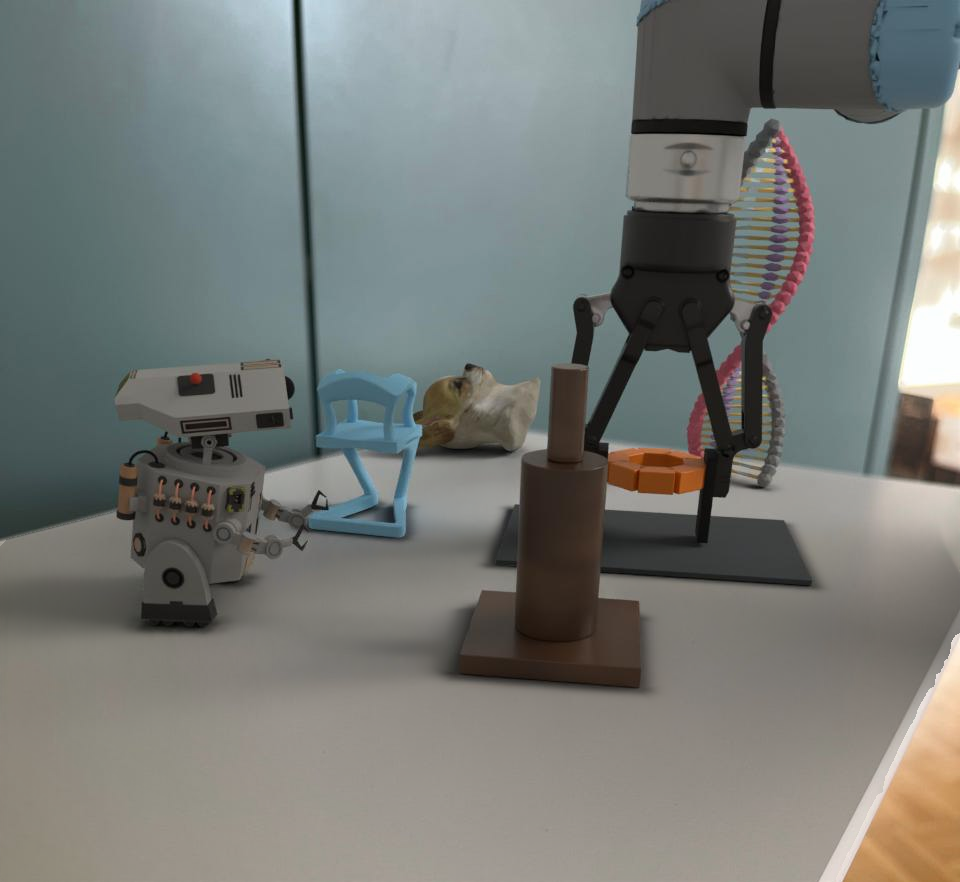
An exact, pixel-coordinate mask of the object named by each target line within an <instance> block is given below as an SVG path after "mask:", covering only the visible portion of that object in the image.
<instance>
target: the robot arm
mask: <svg viewBox="0 0 960 882" xmlns="http://www.w3.org/2000/svg"><path fill="white" fill-rule="evenodd" d="M635 25H636V27H637V31H636V32H637V34H636V50H635V51H636V53H635V55H636V56H635V67H634V85H633V99H632V100H633V101H632V118H631V129H630V134H629V141H628V154H627V155H628V156H627V157H628V158H627V167H626V168H627V169H626V184H625V197H626V198H627V200H628V201H631V202H632V201H633V205H631V209H628V210H626V214H623V217H622V218H623V219H622V230H621V231H622V233H621V244H620V245H621V246H620V256H619V257H620V258H619V259H620V260H619V272H618V276H617V279H616V281H615V283H614V285H613V286H612V288H611V290H610V291H608V292H604V293H603V292H602V293H597V294H592V295H588V294H585V293H581V294H579V295H577V296H576V297H575V300H574V302H573V304H572V310H573V311H572V312H573V316H574V317H573V318H574V324H575V330H576V335H575V340H574V345H573V351H572V357H571V362H570V363H571V364H581V365H585V366H588V367H589V363H590V357H591V352H592V347H593V343H594V336H595V328H598V327H599V326H600V327H601V326H602V324H603V323H604V321H605V315H606V313H607V312H608V311H609V310H610V309H612V308H613V310H614V312H615V314H616V315H617V317H618V319H619V320H620V322H621V323H622V325H623V326H624V329H625V330H626V331H627V333H628V335H627V337H626V339H625V342H624V343H623V346H622V348H621V351H620V353H619V355H618V357H617V359H616V361H615V364H614V366H613V368H612V370H611V372H610V374H609V377H608V379H607V381H606V383H605V385H604V388H603V390H602V392H601V394H600V396H599V398H598V401H597V403H596V405H595V407H594V409H593V411H592V413H591V415H590V418H589V419H588V422H587V423H585V438H584V451H588V452H592V453H596V454H599V455H601V456H603V457H605V458H606V459H607V460H608V453H609V449H610V447H609V446H610V442H602V438H603V436H604V433H605V432H606V429H607V428H608V425H609V423H610V420H611V419H612V417H613V415H614V413H615V411H616V409H617V406H618V404H619V402H620V400H621V398H622V396H623V393H624V391H625V389H626V387H627V385H628V384H629V381H630V378H631V377H632V374H633V372H634V370H635V368H636V366H637V364H638V363H639V361H640V359H641V358H642V355H643V352H644V351H645V352H659V351H665V350H670V351H672V352H676V353H683V354H690V353H691V356H692V360H693V363H694V367H695V372H696V374H697V378H698V381H699V385H700V386H699V387H700V389H701V393H703V397H704V401H705V405H706V408H707V411H706V412H708V420H710V423H709V424H710V428H712V431H713V432H712V431H711V432H712V435H714V439H715V440H714V441H715V442H716V447H715V449H713V447H712V448H709V447H705V448H704V449H705V450H704V462H705V465H706V471H705V480H704V488H702V489H701V490H699V495H698V501H697V502H698V504H697V512H696V515H697V519H696V528H695V534H696V539H697V543H708V535H709V527H710V518H711V516H712V509H713V500H714V498H722V499H725V498H726V497H727V496H728V494H729V492H730V486H731V485H730V484H731V478H732V473H731V471H732V469H733V465H732V463H733V461H734V458H735V457H734V456H735V455H736V454H739V452H742V451H743V450H745V449H749V448H751V449H755V448H759V447H760V446H761V445H762V443H761V442H762V440H763V434H762V431H763V425H762V422H763V416H762V413H763V407H762V404H763V398H762V395H763V389H762V386H763V384H764V383H763V346H764V339H765V336H766V331H767V328H768V325H769V323H770V320H771V317H772V310H771V308H770V307H769V306H768V305H767V304H766V303H764V302H762V301H761V300H757V301H758V302H755V303H754V302H751V301H747V300H748V299H747V300H744V299H745V298H743V299H740V298H741V297H737V296H736V297H735V295H734V292H733V290H732V287H733V286H732V287H731V285H732V283H730V280H731V275H730V272H732V271H731V270H732V266H731V264H732V263H733V256H732V255H733V254H734V248H733V247H734V245H735V236H736V231H737V230H736V227H737V221H738V220H737V219H734V217H735V214H734V213H731V212H730V213H729V212H728V209H729V204H732V205H734V204H736V203H737V202H739V201H738V200H739V197H740V194H741V193H740V192H741V191H740V187H741V186H740V185H741V176H742V167H743V158H744V152H745V148H746V140H747V139H746V137H747V136H748V126H749V125H748V123H749V118H750V117H749V116H750V113H751V110H752V109H753V108H754V109H755V108H756V109H759V108H760V109H762V108H763V109H765V110H769V109H770V110H775V109H800V110H801V109H802V110H803V109H804V110H833V111H834V112H835V114H837V116H838V117H840V118H844V119H845V120H846V121H849V122H852V123H856V124H865V125H877V124H883V123H886V122H888V121H891V120H893V119H894V118H896V117H898V116H900V115H901V114H903V113H904V112H907V111H908V110H921V109H922V110H923V109H924V110H925V109H935V108H940V107H943V105H945V104H946V103H948V101H949V100H950V99H951V98H952V96H953V94H954V92H955V89H956V82H957V78H958V74H959V73H958V72H959V70H960V0H640V7H639V13H638V15H637V17H636V24H635ZM729 313H733V314H734V315H735V318H736V321H735V322H734V326H735V325H736V326H735V328H736V329H737V331H738V332H739V331H740V332H741V333H743V334H742V338H741V340H742V342H741V341H740V343H741V369H740V371H741V375H740V379H741V383H740V384H741V386H740V387H741V391H740V392H741V395H740V396H741V399H740V400H741V402H740V403H741V404H740V405H741V409H740V412H741V416H740V421H741V424H740V428H738V429H739V430H736V431H732V432H731V429H732V428H731V426H730V425H731V424H729V421H730V420H729V417H727V413H726V411H727V410H726V409H725V405H724V403H725V402H723V398H722V396H723V393H721V390H720V386H719V382H718V378H717V375H716V368H715V364H714V359H713V355H712V350H711V347H710V343H709V340H708V339H709V338H710V337H711V335H712V334H713V333H714V332H715V331H716V329H718V327H719V326H720V325H721V324H722V322H723V321H724V320H725V319H726V318H727V317H728V316H729V315H730V314H729ZM740 332H739V333H740ZM728 420H729V421H728Z"/></svg>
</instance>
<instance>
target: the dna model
mask: <svg viewBox="0 0 960 882" xmlns="http://www.w3.org/2000/svg"><path fill="white" fill-rule="evenodd" d="M789 142H790V141H789V138H788V136H787V135H786V134H784V127H783V126H782V122H780V119H777V118H770V119H769V120H767V121H766V122H764V124H763V128H762V130H760V132H758V133H757V134H756V136H755V139H754V140H753V141H751V142H750V143H749V145H748V148H747V149H746V150H744V158H743V167H742V176H741V185H740V192H743V193H769V194H770V193H771V194H772V193H773V194H776V195H778V196H775V197H770V198H769V197H751V196H750V197H749V196H748V197H747V196H739V200H738V201H737V202H747V203H748V202H750V203H751V202H752V203H773V204H775V205H777V206H762V207H761V206H759V207H757V206H756V207H754V206H753V207H751V206H749V207H748V206H747V207H745V206H744V207H743V206H742V207H741V206H733V204H729V209H728V213H729V212H730V211H733V212H734V211H736V212H737V211H739V212H740V211H741V212H742V211H744V212H745V211H746V212H773V213H774V214H775V215H774V216H764V217H763V216H762V217H761V216H760V217H758V216H757V217H755V216H753V217H749V216H748V217H746V216H745V217H741V216H740V217H737V216H734V219H737V221H739V222H740V221H741V222H742V221H743V222H745V221H746V222H767V223H768V222H770V223H771V222H772V223H774V224H776V225H773V226H755V225H751V224H750V225H741V226H740V225H739V226H736V230H735V231H748V230H749V231H750V230H751V231H762V232H771V233H775V234H773V235H771V236H760V235H759V236H758V235H735V238H734V240H735V239H737V240H738V239H739V240H740V239H743V240H748V241H768V242H771V243H774V244H770V245H751V244H749V245H748V244H734V247H733V249H749V250H750V249H751V250H761V251H763V250H764V251H769V252H773V253H771V254H754V253H747V252H733V255H732V257H735V258H741V259H747V260H748V259H756V260H757V259H758V260H766V261H767V262H768V263H765V264H763V263H761V264H760V263H751V262H750V263H749V262H732V264H731V267H733V268H742V267H745V268H754V269H764V270H766V271H767V272H766V273H758V272H748V271H731V272H730V276H733V277H748V278H759V279H763V280H765V281H763V282H762V283H761V282H753V281H752V282H751V281H742V280H737V279H730V283H731V287H732V290H733V292H734V295H735V297H737V294H745V295H750V296H756V297H758V298H759V299H761V300H760V301H762V302H764V303H766V304H767V305H768V306H769V307H770V308H771V310H772V317H771V320H770V323H769V325H768V328H767V331H766V334H768V333H769V332H770V330H771V329H772V326H773V325H774V324H776V323H777V322H778V320H779V317H780V316H781V315H782V314H783V313H784V312H785V311H786V307H787V306H789V305H790V304H791V300H792V297H793V296H795V295H796V293H797V292H798V290H799V288H798V286H799V285H800V284H801V283H802V282H803V276H804V275H806V273H807V270H808V267H807V265H809V264H810V263H811V261H810V259H811V258H810V256H811V255H812V254H813V253H814V250H813V244H814V242H815V236H814V234H815V232H816V227H815V224H814V223H815V219H816V216H815V215H814V213H815V210H814V204H813V203H812V199H813V198H812V196H811V193H810V190H811V189H810V188H809V187H808V185H807V182H806V181H807V179H806V175H805V174H804V173H803V167H802V165H801V164H800V163H799V158H798V157H797V155H796V154H795V152H794V147H793V145H791V144H790V143H789ZM770 146H771V148H768V147H770ZM767 153H771V154H772V155H774V156H777V157H774V158H769V157H762V156H763V155H764V154H767ZM758 163H772V164H773V165H774V166H776V167H774V168H769V167H757V166H756V165H757V164H758ZM750 173H766V174H767V173H768V174H769V173H770V174H773V175H774V176H776V177H774V178H766V177H764V178H763V177H748V176H749V175H750ZM784 174H786V175H785V176H786V177H785V176H782V175H784ZM747 182H752V183H753V182H754V183H760V184H762V183H763V184H764V183H765V184H768V183H769V184H770V183H772V184H773V185H777V186H776V187H761V188H758V187H752V186H748V187H742V186H744V183H747ZM784 184H789V185H790V188H788V187H787V186H783V185H784ZM788 193H792V194H793V195H792V197H794V198H789V197H786V196H785V195H786V194H788ZM787 203H788V204H789V203H792V204H795V206H796V207H788V206H784V205H786V204H787ZM789 213H795V214H797V215H798V216H799V217H797V218H796V217H789V216H787V215H786V214H789ZM787 223H798V226H799V227H787V226H786V225H784V224H787ZM781 224H782V225H781ZM788 232H798V234H799V235H798V236H787V235H785V234H786V233H788ZM787 242H797V243H798V244H797V246H796V247H787V246H786V245H784V244H783V243H787ZM785 252H795V255H794V256H788V255H783V254H779V253H785ZM785 260H786V261H793V262H792V263H791V266H786V265H782V264H780V262H782V261H785ZM769 262H770V263H769ZM779 271H789V272H788V273H787V274H786V276H784V275H781V274H777V273H774V272H779ZM779 279H780V280H784V281H783V282H782V284H781V285H780V284H775V283H774V282H776V281H778V280H779ZM733 284H734V285H740V286H741V285H743V286H748V287H749V286H751V287H757V288H761V289H762V291H759V292H758V291H753V290H752V291H751V290H749V289H738V288H733ZM773 290H779V291H778V292H777V293H776V294H772V292H771V291H773ZM739 298H740V299H744V300H747V301H751V302H754V303H755V302H758V301H759V300H753V299H746V298H742V297H739ZM771 299H774V300H772V301H771V303H768V302H767V301H768V300H771ZM766 300H767V301H766ZM728 315H730V316H729V319H730V320H731V321H732V322H733V323H735V321H736V318H735V315H734V314H733V313H729V314H728ZM734 326H735V327H736V325H735V324H734ZM738 332H739V336H740V338H741V340H740V344H738V345H736V346H735V347H734V348H733V350H732V351H733V352H732V353H730V354H728V355H727V357H726V360H725V361H723V362H721V364H720V366H719V367H718V369H715V371H716V375H717V378H718V382H719V386H720V390H721V394H722V398H723V402H724V405H725V409H726V413H727V417H728V418H730V417H741V411H740V412H739V411H738V412H735V411H732V412H731V411H730V410H731V409H734V408H735V409H737V408H738V409H740V408H741V404H731V403H730V402H732V401H739V400H741V395H732V394H733V393H739V392H741V386H740V387H733V386H737V385H738V384H741V378H738V377H739V376H741V342H742V334H743V333H741V332H740V331H739V330H738ZM766 334H765V335H766ZM773 370H774V369H773V364H772V362H770V361H769V358H768V354H767V353H766V352H765V346H764V345H763V383H762V384H764V385H762V390H765V392H766V393H767V394H765V393H764V394H762V399H764V398H767V400H768V401H769V403H762V408H767V407H769V409H770V410H771V411H770V412H762V417H770V418H771V421H762V426H770V428H771V430H762V435H770V437H771V438H770V439H769V440H766V439H762V442H761V444H768V445H769V447H768V449H763V448H759V447H757V448H755V449H751V448H749V449H745V450H742V451H743V452H749V451H752V452H757V453H763V454H764V453H765V454H767V455H766V457H759V456H754V455H747V454H741V453H736V455H735V456H734V458H739V459H745V460H755V461H761V462H764V465H762V466H756V465H751V464H747V463H744V462H740V461H735V460H733V463H732V466H739V467H743V468H747V469H749V470H754V471H759V472H760V473H759V474H758V475H757V474H753V473H750V472H744V471H741V470H737V469H733V468H732V471H731V474H732V473H733V474H736V475H741V476H743V477H747V478H750V479H754V480H756V484H757V485H758V486H760V487H761V488H765V487H769V486H771V483H772V482H773V477H774V476H775V475H776V474H777V472H778V470H777V468H778V467H779V465H780V463H781V459H780V458H781V457H782V456H783V454H784V453H783V447H784V446H785V436H786V435H787V432H786V429H785V427H786V425H787V421H786V419H785V418H786V412H785V409H784V406H785V403H784V401H783V392H782V390H781V389H780V386H781V383H780V382H779V381H778V379H777V374H776V373H775V371H773ZM723 386H726V387H723ZM696 398H697V399H696V401H695V402H694V405H693V409H692V410H691V412H690V416H689V418H688V421H689V422H688V425H687V427H686V431H687V432H686V439H687V443H686V444H687V451H688V452H687V453H688V454H692V455H695V456H699V457H701V458H702V459H704V450H705V448H704V447H703V446H709V447H712V449H715V447H716V442H715V439H714V435H713V434H706V433H702V432H712V433H713V431H712V427H706V426H705V427H703V425H704V424H710V420H709V419H705V418H706V416H708V412H707V408H706V405H705V401H704V397H703V393H702V392H701V393H700V394H698V396H697V397H696ZM708 417H709V416H708ZM728 421H729V425H741V420H729V419H728ZM730 429H731V432H732V431H736V430H739V429H740V428H730ZM702 438H705V439H711V440H712V441H707V440H702Z"/></svg>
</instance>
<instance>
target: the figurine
mask: <svg viewBox="0 0 960 882" xmlns="http://www.w3.org/2000/svg"><path fill="white" fill-rule="evenodd" d="M295 393H296V387H295V383H294V381H293V380H292V379H291V378H290V377H288V376H287V375H285V368H284V363H283V361H282V359H271V358H266V359H262V360H252V361H241V362H240V361H238V362H227V363H214V364H198V365H187V366H185V365H184V366H171V367H159V368H157V367H156V368H146V369H145V368H143V369H132V370H130V372H128V373H127V375H126V376H125V377H124V378H123V379H122V380H121V382H120V383H119V385H118V387H117V390H116V393H115V396H114V405H115V410H116V411H115V412H116V414H117V418H118V422H125V421H126V422H127V421H128V422H129V421H139V420H143V421H144V422H146V423H149V424H151V425H153V426H154V427H157V428H159V429H160V430H162V431H164V435H162V436H157V440H156V441H157V442H156V446H154V447H153V448H151V449H150V450H148V449H142V450H138V451H135V452H134V453H133V454H131V456H130V458H129V460H128V462H123V463H121V464H120V472H119V476H118V484H119V487H118V503H117V504H118V505H117V509H116V515H115V516H116V518H117V519H119V520H122V521H132V532H131V544H130V545H131V547H130V559H131V560H132V561H134V562H135V563H136V564H137V565H139V566H140V567H141V568H143V576H142V577H143V578H142V589H143V590H142V591H143V601H142V603H141V604H140V605H141V607H140V620H142V621H148V622H149V624H151V625H153V626H157V625H159V624H160V622H161V621H162V623H163V624H164V625H165V626H167V627H168V626H172V625H173V624H174V622H183V624H184V625H185V626H186V627H192V626H194V625H195V623H197V624H198V626H199V627H201V628H205V627H207V626H208V624H209V623H213V621H214V620H215V618H217V616H218V611H217V607H216V603H215V599H214V598H212V595H211V589H210V585H211V584H212V585H213V584H218V583H227V582H232V583H234V584H236V583H239V582H240V580H241V579H244V578H245V576H246V575H247V574H248V572H249V570H250V568H251V567H252V565H253V562H254V560H255V555H265V556H266V557H267V558H268V559H270V560H276V559H279V557H281V555H282V553H283V551H284V549H286V548H290V547H292V546H295V547H296V548H297V550H299V551H301V552H303V551H304V550H305V548H306V547H307V545H308V542H309V539H307V540H306V541H305V542H304V543H303V544H302V545H301V544H300V542H299V540H300V537H301V535H302V533H303V531H305V532H307V533H308V534H309V533H310V530H308V528H307V525H308V520H307V517H309V516H310V515H311V514H313V513H314V511H321V510H329V502H328V498H327V497H328V496H326V495H325V494H324V493H323V492H322V491H321V490H320V489H318V490H317V491H316V494H315V496H314V498H313V499H312V502H311V504H310V503H309V504H307V505H306V506H305V507H303V508H302V509H301V510H300V509H297V508H292V509H291V508H288V507H287V506H285V505H283V504H282V503H281V502H279V501H278V500H276V499H274V498H271V499H267V498H265V497H264V494H263V492H264V484H265V483H264V482H265V474H266V466H265V465H263V464H261V463H260V462H258V461H257V460H255V459H254V458H251V457H250V456H248V455H244V454H243V453H241V452H240V451H238V450H236V449H233V448H231V447H229V446H230V438H232V436H233V435H232V434H238V433H249V432H259V431H272V430H283V429H284V430H285V429H291V428H292V424H291V420H294V415H293V413H294V412H293V408H292V407H290V404H289V400H291V399H292V398H293V397H294V396H295V395H294V394H295ZM168 434H171V435H172V436H174V437H176V438H177V442H174V441H173V438H171V437H170V436H168ZM182 438H187V440H188V441H182ZM173 442H174V443H173ZM140 454H143V455H142V456H141V457H139V458H138V459H136V460H137V461H136V464H134V463H133V460H134V459H135V458H136V457H137V456H139V455H140ZM320 496H322V497H323V498H325V499H326V500H325V506H323V505H320V504H317V503H318V500H319V497H320ZM261 511H262V515H263V516H264V517H265V518H266V519H267V520H269V521H275V520H276V519H277V520H278V521H279V522H282V523H286V524H288V526H289V527H290V528H291V529H292V530H295V531H297V532H296V534H295V535H293V536H292V537H288V538H284V539H280V538H278V537H277V535H275V534H268V535H266V536H265V537H264V538H262V537H259V536H258V532H259V531H258V530H259V522H260V515H261Z"/></svg>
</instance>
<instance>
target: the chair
mask: <svg viewBox="0 0 960 882" xmlns="http://www.w3.org/2000/svg"><path fill="white" fill-rule="evenodd" d="M417 386H418V382H417V381H415V380H414V379H413V378H412V377H409V376H406V375H404V374H402V373H399V372H397V373H393V374H392V375H390V376H380V375H378V374H377V375H376V374H375V373H374V374H373V373H370V372H366V371H362V370H350V371H345V370H344V369H342V368H340V369H336V370H333V371H330V372H328V373H327V374H325V375H324V376H323V377H322V378H321V379H320V382H319V383H318V386H317V388H316V391H317V393H318V396H319V399H320V402H321V405H322V407H323V411H324V414H325V426H324V430H323V431H322V432H319V433H318V434H316V435H315V446H316V448H323V449H340V450H341V452H342V453H343V455H344V457H345V459H346V460H347V462H348V464H349V466H350V468H351V469H352V472H353V473H354V475H355V477H356V479H357V481H358V484H359V485H360V487H361V489H362V490H363V494H361V495H360V496H357V497H354V498H352V499H349V500H347V501H344V502H341V503H337V504H335V505H331V506H328V508H329V510H317V511H316V512H313V513H310V514H309V515H308V528H309V529H312V530H319V531H328V532H336V533H337V532H338V533H349V534H356V535H357V534H358V535H367V536H375V537H376V536H377V537H386V538H397V539H400V538H403V537H404V536H406V532H407V515H406V512H407V511H406V510H407V507H408V501H407V500H408V499H407V495H408V490H409V485H410V481H411V478H412V472H413V467H414V463H415V459H416V456H417V455H416V454H417V450H418V448H419V447H418V443H419V439H420V437H421V436H422V425H418V424H415V422H414V419H413V414H414V413H413V411H414V403H415V400H416V396H417ZM405 394H407V396H406V398H405V401H404V404H403V407H402V412H401V416H402V422H403V423H395V411H396V408H397V407H396V406H397V405H398V403H399V402H400V401H401V399H402V398H403V396H404V395H405ZM339 401H346V402H347V413H346V414H347V415H346V418H345V419H343V420H342V421H340V422H338V419H337V418H338V417H337V414H336V411H335V410H334V407H333V405H332V402H339ZM358 401H365V402H370V403H374V404H376V405H377V404H378V405H381V406H383V407H385V412H384V416H383V422H375V421H371V420H363V419H359V407H358ZM412 413H413V414H412ZM358 449H359V450H367V451H372V452H374V453H375V452H376V453H382V454H393V455H398V454H399V453H400V452H402V460H401V466H400V470H399V475H398V479H397V483H396V487H395V491H394V495H393V501H392V502H393V503H392V504H393V518H394V522H386V521H385V522H384V521H375V520H374V521H373V520H366V519H356V518H355V519H354V518H345V517H348V516H352V515H354V514H357V513H360V512H362V511H365V510H368V509H370V508H372V507H375V506H377V505H378V504H379V494H378V491H377V488H376V487H375V485H374V483H373V481H372V479H371V477H370V475H369V473H368V471H367V469H366V468H365V466H364V465H365V464H364V463H363V462H362V459H361V457H360V455H359V452H358Z"/></svg>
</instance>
